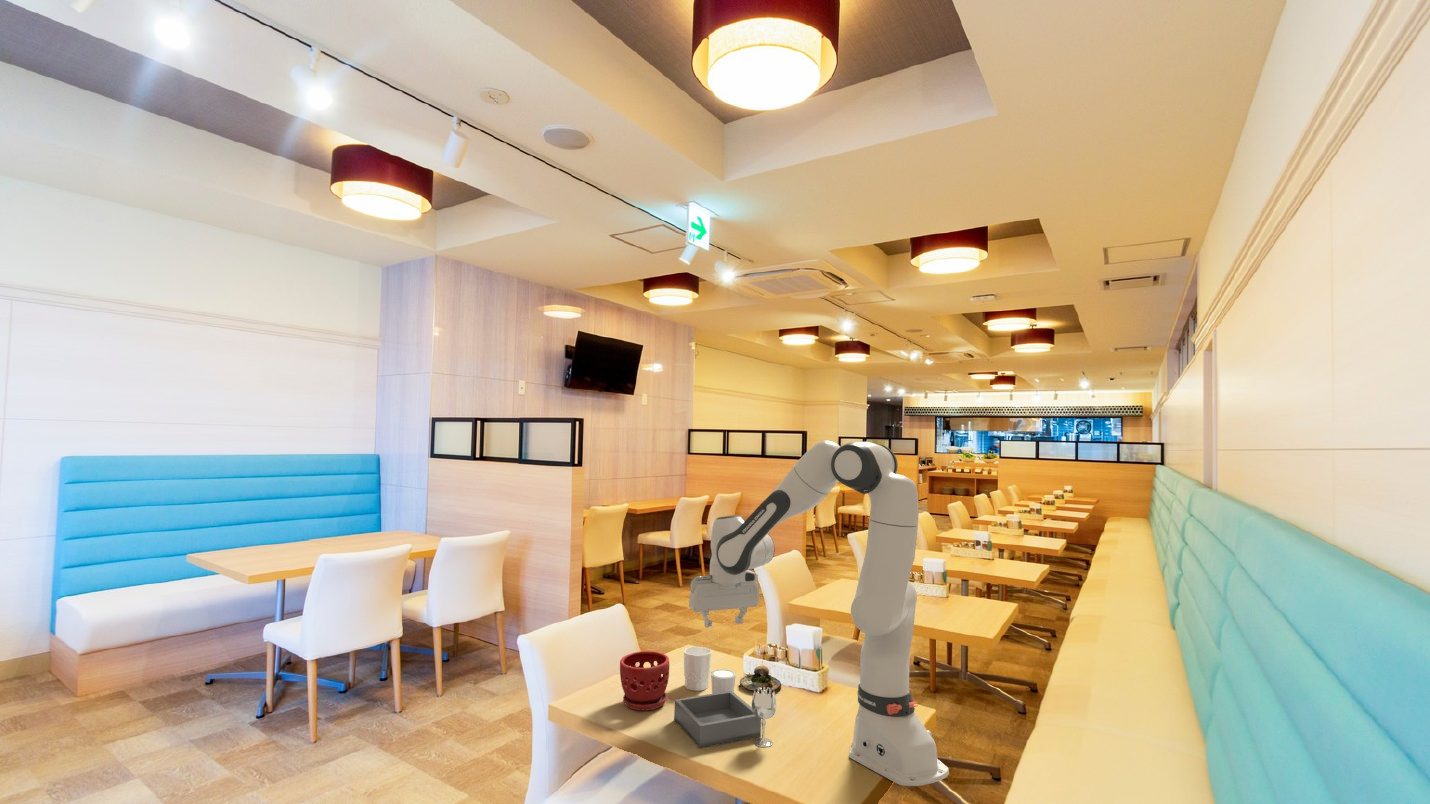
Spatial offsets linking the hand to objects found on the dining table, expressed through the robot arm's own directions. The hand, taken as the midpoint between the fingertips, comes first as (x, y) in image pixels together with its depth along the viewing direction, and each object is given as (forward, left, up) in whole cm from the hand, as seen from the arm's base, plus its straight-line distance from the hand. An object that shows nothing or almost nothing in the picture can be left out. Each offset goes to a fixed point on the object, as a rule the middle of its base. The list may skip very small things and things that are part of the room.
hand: (723, 625), depth 178 cm
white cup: (+11, +3, -20) cm, 23 cm away
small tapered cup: (0, 0, -20) cm, 20 cm away
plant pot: (+5, +21, -20) cm, 29 cm away
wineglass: (-26, +2, -20) cm, 33 cm away
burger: (+4, -14, -21) cm, 25 cm away
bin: (-15, +9, -20) cm, 27 cm away
